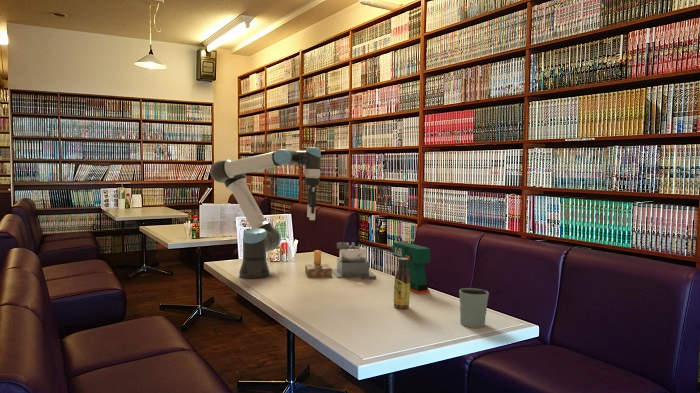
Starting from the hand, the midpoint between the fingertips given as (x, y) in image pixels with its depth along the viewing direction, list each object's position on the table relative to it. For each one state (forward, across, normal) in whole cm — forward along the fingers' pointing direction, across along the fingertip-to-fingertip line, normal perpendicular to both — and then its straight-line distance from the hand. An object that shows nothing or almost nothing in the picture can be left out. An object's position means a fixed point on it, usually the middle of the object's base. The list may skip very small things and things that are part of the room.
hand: (310, 218), depth 249 cm
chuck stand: (+29, -4, -22) cm, 37 cm away
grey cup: (+27, -89, -51) cm, 106 cm away
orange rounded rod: (+28, -5, -4) cm, 29 cm away
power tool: (+28, -29, -43) cm, 59 cm away
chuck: (+20, -4, -22) cm, 30 cm away
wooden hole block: (+29, -5, -4) cm, 30 cm away
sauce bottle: (+28, -65, -31) cm, 77 cm away
